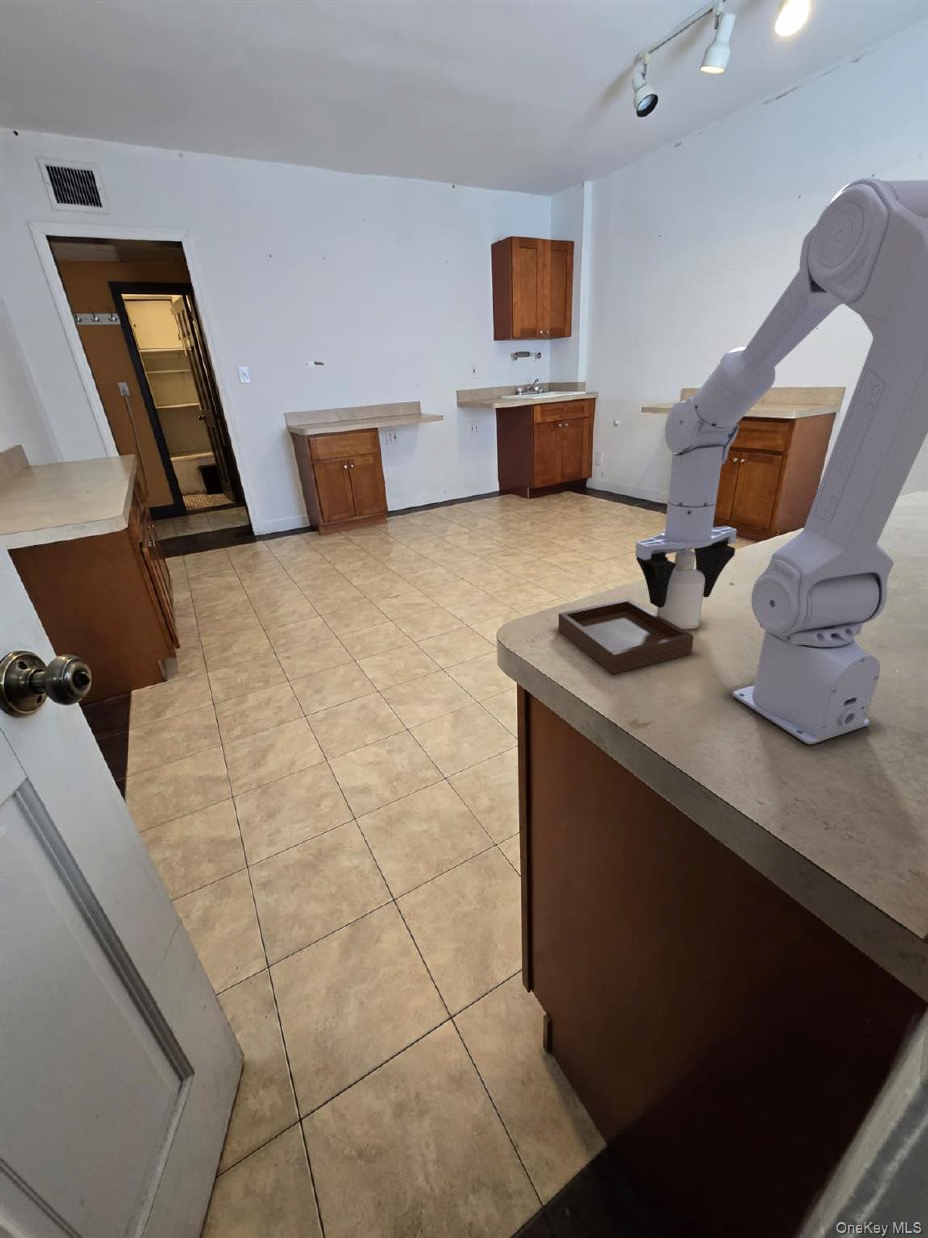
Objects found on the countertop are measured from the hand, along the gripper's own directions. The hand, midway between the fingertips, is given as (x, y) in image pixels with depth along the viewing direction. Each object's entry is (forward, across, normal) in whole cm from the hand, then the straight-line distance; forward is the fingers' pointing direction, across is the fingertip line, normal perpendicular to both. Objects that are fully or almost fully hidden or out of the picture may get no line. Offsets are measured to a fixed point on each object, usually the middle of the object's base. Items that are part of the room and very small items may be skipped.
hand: (679, 599), depth 71 cm
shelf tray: (+4, +10, +1) cm, 11 cm away
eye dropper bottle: (+4, 0, 0) cm, 4 cm away
